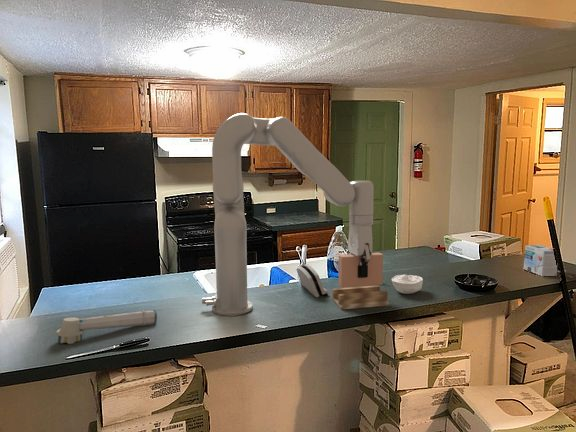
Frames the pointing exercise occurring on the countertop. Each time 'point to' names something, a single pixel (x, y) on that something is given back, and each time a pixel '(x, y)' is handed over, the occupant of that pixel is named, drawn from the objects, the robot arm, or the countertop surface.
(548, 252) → the light bulb box
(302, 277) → the grey rounded piece
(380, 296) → the guide track
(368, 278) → the door panel
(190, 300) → the countertop surface
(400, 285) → the white bowl
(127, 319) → the beige mallet
